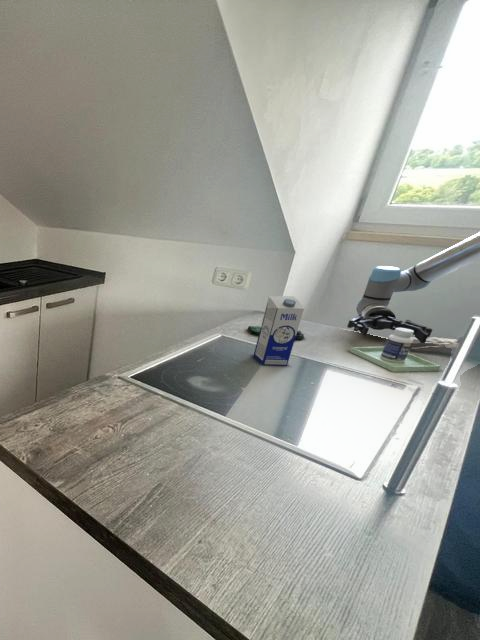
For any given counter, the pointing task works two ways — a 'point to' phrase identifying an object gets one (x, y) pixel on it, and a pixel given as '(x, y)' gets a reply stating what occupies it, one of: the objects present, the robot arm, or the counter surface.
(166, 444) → the counter surface
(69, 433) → the counter surface
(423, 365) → the tray
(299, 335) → the gun
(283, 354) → the milk carton
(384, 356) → the pill bottle
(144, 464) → the counter surface
